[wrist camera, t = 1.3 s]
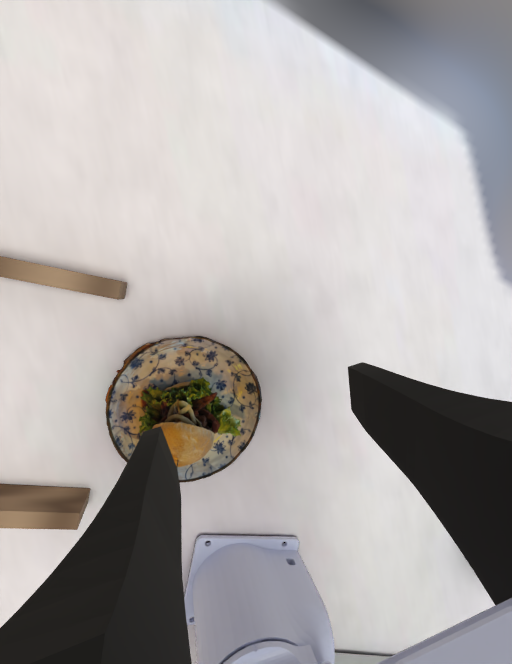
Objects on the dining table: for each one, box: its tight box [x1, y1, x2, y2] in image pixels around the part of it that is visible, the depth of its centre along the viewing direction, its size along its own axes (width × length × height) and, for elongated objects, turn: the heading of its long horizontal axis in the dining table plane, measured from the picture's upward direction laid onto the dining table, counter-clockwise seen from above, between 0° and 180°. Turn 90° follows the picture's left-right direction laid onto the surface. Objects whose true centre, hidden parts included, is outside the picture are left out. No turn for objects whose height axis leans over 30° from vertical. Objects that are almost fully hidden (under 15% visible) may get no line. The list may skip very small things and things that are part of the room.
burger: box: [106, 336, 262, 483], centre depth 24 cm, size 12×12×8 cm
